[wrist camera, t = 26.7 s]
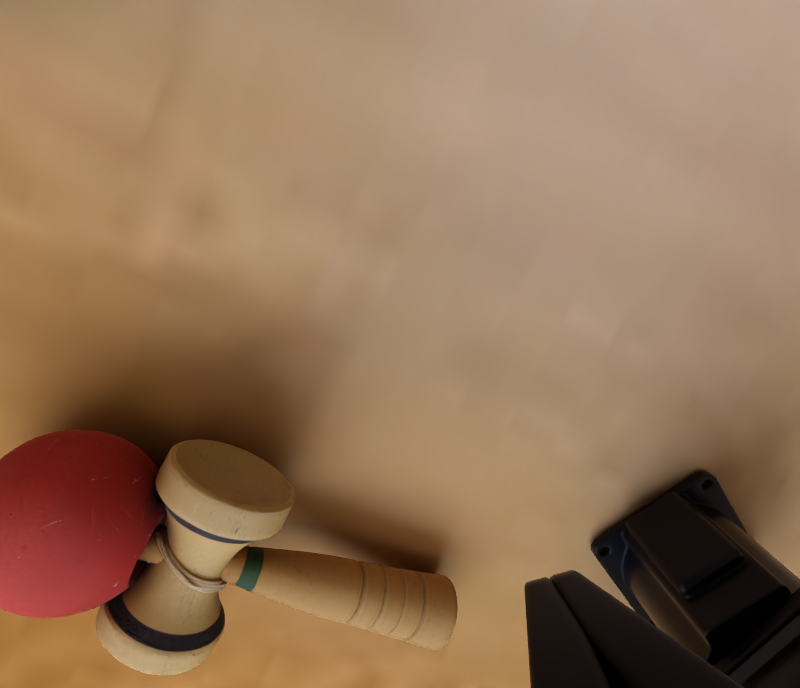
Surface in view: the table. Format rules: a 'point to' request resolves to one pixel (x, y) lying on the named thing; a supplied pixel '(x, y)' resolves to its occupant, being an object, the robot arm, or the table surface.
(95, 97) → the table surface
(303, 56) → the table surface
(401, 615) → the kendama
